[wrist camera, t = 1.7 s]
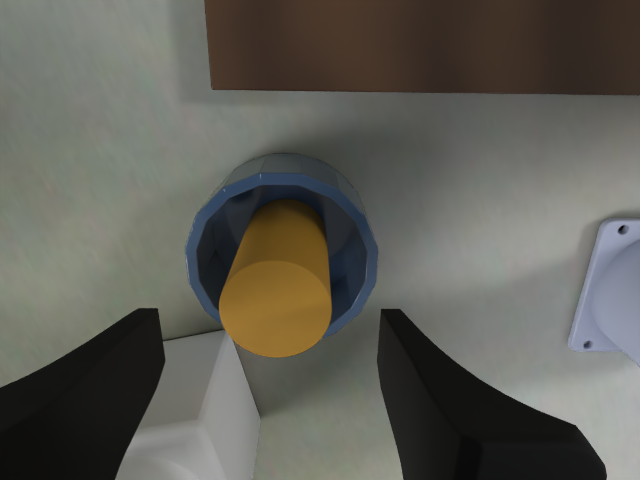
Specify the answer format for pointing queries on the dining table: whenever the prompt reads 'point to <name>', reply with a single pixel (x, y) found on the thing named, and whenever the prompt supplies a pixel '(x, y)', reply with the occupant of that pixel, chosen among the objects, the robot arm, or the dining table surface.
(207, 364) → the medicine bottle
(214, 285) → the cup
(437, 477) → the robot arm
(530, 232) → the dining table surface
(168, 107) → the dining table surface
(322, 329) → the peg
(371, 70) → the board
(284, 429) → the dining table surface
